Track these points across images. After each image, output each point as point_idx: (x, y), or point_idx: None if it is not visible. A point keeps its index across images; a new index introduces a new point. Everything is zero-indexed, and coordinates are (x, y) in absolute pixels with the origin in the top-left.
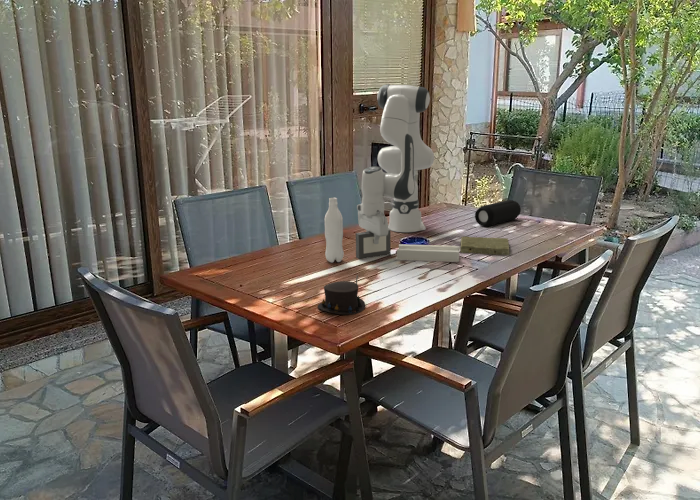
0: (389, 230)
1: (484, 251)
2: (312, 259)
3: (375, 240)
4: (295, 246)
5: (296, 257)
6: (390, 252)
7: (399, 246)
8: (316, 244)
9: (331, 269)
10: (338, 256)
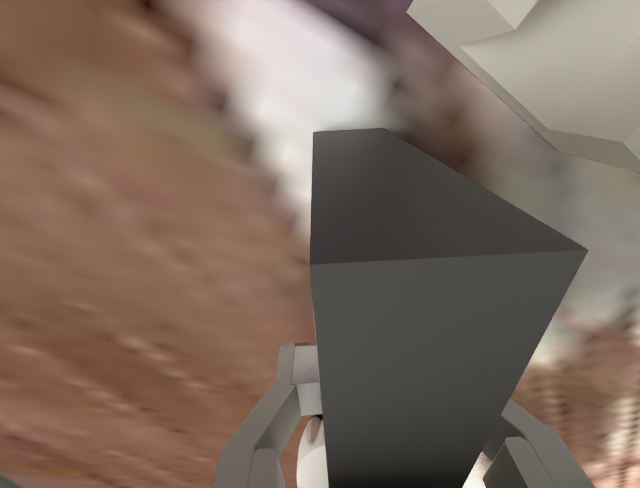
0: (526, 262)
1: None
2: (279, 461)
3: None
4: (57, 468)
5: None
6: (387, 131)
7: (513, 21)
8: (10, 419)
9: None
10: None
